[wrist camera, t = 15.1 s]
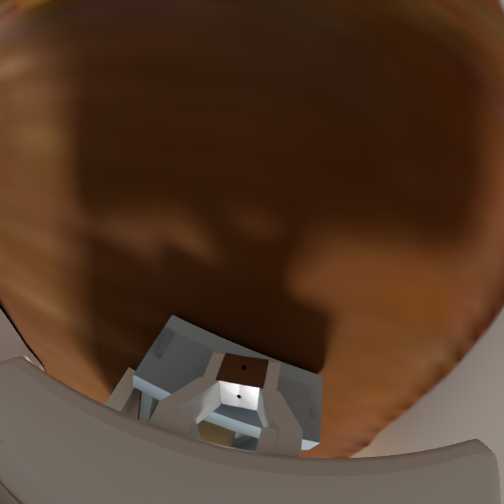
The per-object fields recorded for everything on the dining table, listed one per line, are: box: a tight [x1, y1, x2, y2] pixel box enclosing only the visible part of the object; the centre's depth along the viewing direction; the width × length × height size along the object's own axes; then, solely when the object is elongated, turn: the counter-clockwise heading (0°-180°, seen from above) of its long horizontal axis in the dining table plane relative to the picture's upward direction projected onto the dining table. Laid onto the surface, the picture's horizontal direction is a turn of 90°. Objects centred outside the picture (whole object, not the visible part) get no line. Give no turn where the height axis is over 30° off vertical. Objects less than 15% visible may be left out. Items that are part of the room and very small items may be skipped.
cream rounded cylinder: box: [197, 420, 236, 447], centre depth 14 cm, size 5×5×7 cm
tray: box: [133, 315, 323, 452], centre depth 15 cm, size 12×9×4 cm
